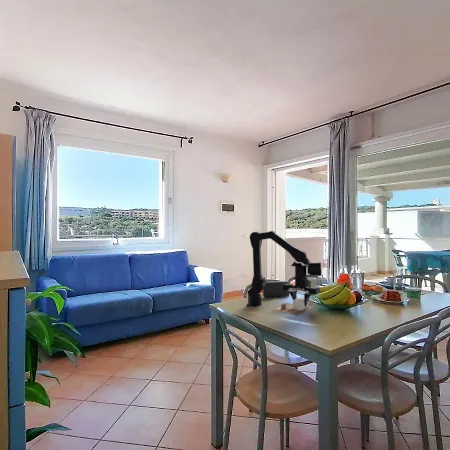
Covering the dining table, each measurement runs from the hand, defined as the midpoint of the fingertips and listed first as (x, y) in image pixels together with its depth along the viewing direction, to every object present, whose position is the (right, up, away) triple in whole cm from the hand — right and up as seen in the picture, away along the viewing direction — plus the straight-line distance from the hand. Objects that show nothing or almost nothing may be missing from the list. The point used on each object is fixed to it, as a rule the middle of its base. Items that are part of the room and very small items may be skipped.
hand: (300, 305), depth 162 cm
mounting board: (-5, -2, -1) cm, 5 cm away
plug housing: (+1, -1, +1) cm, 2 cm away
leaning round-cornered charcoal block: (-8, -2, +27) cm, 28 cm away
